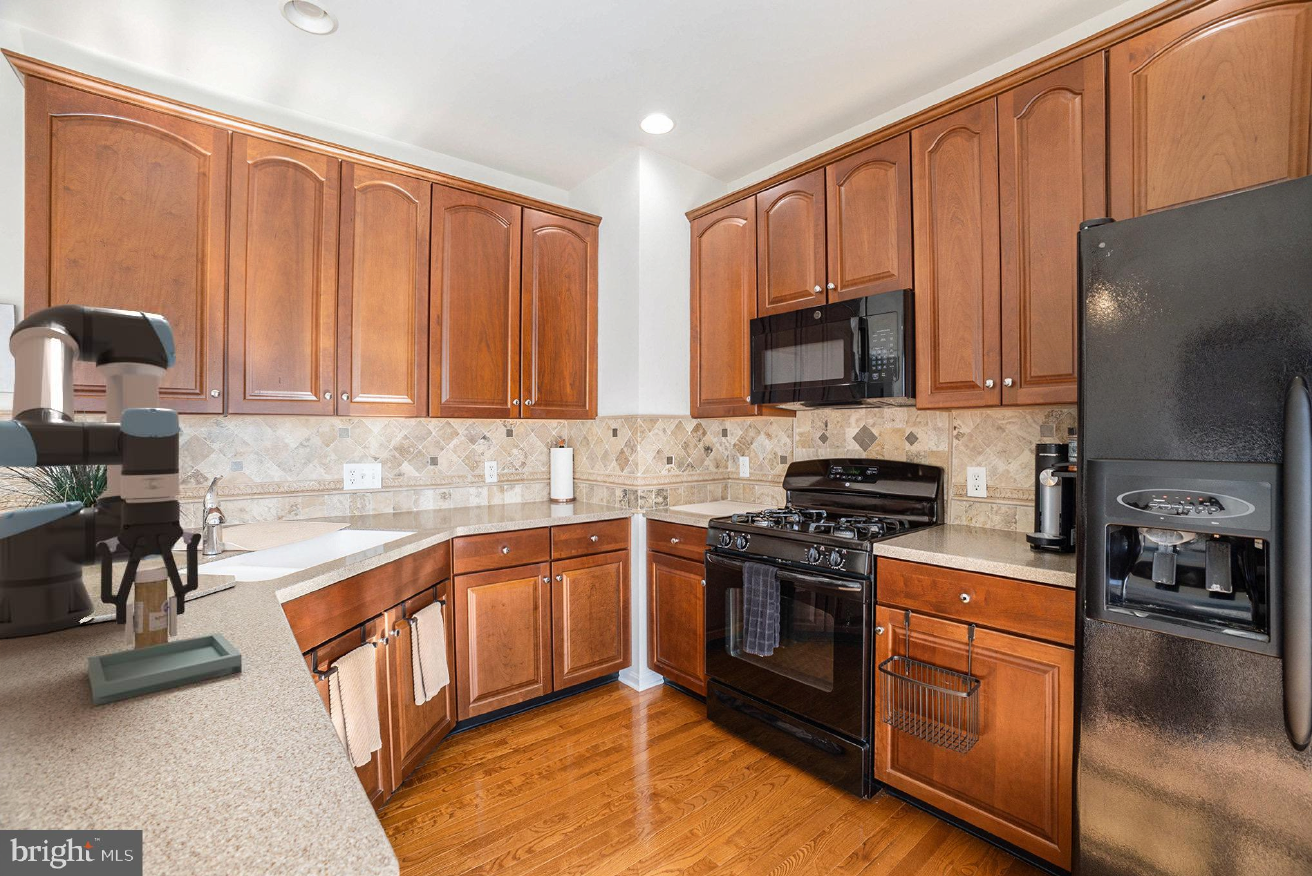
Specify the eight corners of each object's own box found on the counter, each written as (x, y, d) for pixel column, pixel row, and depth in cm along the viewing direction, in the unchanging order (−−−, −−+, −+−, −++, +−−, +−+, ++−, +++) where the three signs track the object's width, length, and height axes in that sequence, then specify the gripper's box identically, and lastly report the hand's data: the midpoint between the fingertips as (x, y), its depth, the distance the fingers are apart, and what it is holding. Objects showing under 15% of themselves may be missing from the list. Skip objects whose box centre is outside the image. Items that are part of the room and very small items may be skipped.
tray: (87, 675, 88) (87, 658, 88) (219, 647, 99) (219, 632, 99) (93, 706, 77) (93, 687, 77) (241, 671, 88) (241, 654, 88)
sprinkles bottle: (166, 650, 98) (166, 569, 99) (130, 655, 96) (130, 572, 96) (170, 642, 102) (170, 564, 102) (135, 648, 100) (135, 568, 100)
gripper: (77, 505, 90) (77, 658, 90) (220, 497, 103) (221, 630, 103) (75, 503, 95) (75, 647, 95) (212, 495, 108) (212, 622, 108)
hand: (151, 638), depth 99 cm, fingers open, 5 cm apart
